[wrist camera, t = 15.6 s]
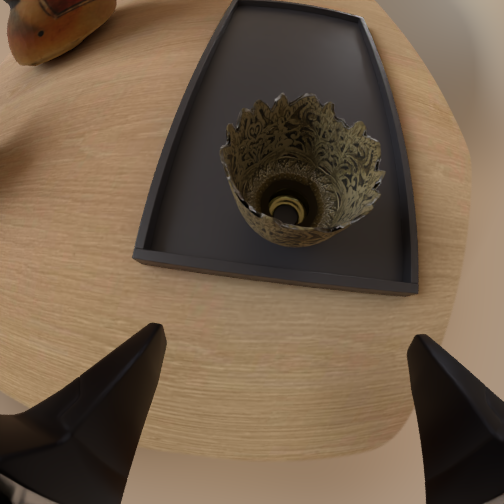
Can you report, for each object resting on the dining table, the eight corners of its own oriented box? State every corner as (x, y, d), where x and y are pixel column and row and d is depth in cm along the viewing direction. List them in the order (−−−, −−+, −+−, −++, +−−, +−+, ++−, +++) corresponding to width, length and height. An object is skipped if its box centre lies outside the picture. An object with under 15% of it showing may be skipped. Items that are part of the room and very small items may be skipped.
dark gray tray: (405, 296, 18) (418, 293, 16) (141, 264, 18) (131, 258, 17) (360, 25, 28) (363, 17, 26) (234, 7, 28) (233, -2, 26)
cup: (356, 219, 19) (411, 160, 11) (288, 293, 17) (320, 269, 10) (282, 153, 20) (296, 74, 12) (208, 215, 19) (185, 146, 11)
